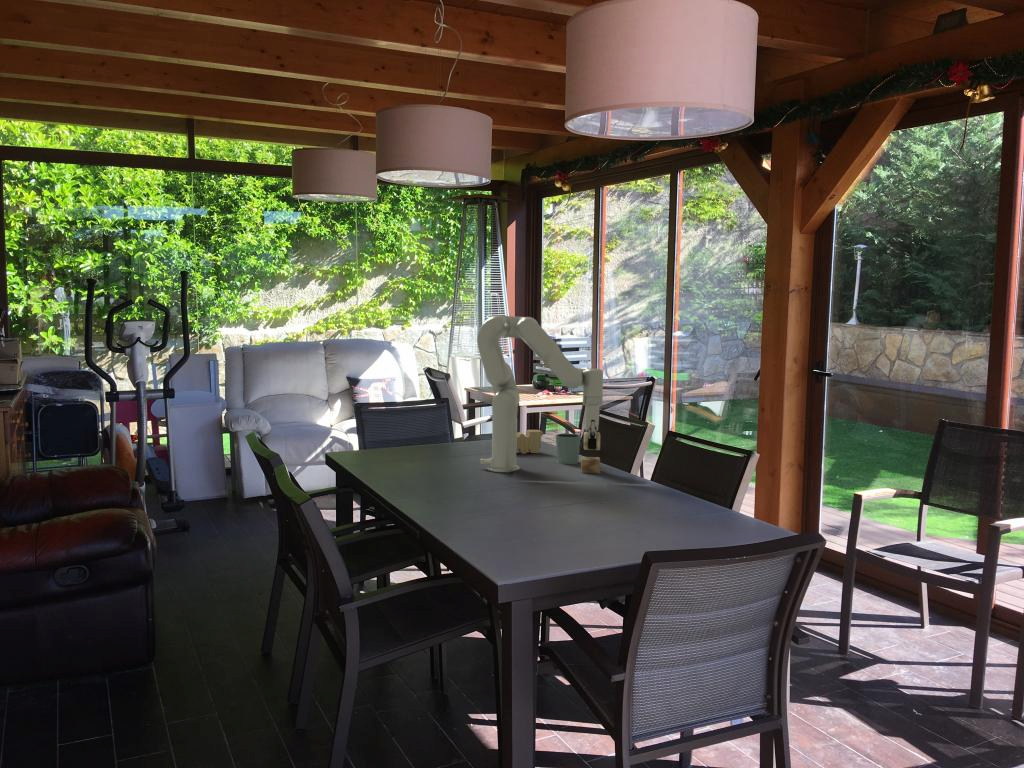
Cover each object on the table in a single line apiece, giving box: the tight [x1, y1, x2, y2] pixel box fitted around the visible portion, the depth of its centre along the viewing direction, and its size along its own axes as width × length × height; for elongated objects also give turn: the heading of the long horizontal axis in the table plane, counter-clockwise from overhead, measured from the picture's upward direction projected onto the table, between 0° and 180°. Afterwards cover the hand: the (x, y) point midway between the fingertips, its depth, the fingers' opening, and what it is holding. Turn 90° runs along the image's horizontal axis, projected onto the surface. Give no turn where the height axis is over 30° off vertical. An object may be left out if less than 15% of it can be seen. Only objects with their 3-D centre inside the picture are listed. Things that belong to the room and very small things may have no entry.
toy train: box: [516, 429, 544, 455], centre depth 381 cm, size 6×17×10 cm, turn 105°
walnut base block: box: [580, 456, 601, 474], centre depth 337 cm, size 7×7×5 cm
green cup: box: [555, 433, 581, 465], centre depth 356 cm, size 10×10×12 cm
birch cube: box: [583, 431, 601, 451], centre depth 336 cm, size 6×6×6 cm
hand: (591, 447), depth 336 cm, fingers closed on birch cube, 6 cm apart
